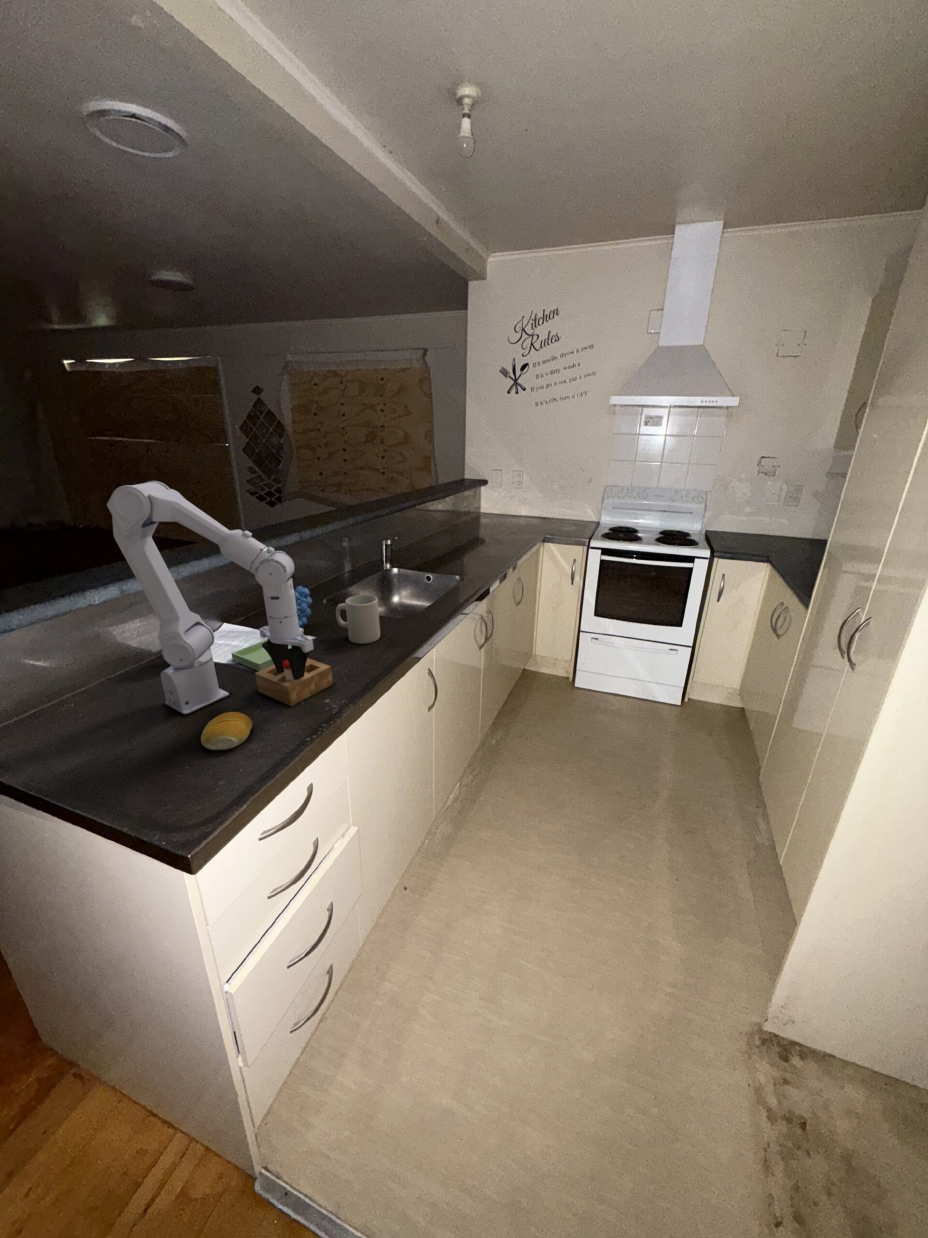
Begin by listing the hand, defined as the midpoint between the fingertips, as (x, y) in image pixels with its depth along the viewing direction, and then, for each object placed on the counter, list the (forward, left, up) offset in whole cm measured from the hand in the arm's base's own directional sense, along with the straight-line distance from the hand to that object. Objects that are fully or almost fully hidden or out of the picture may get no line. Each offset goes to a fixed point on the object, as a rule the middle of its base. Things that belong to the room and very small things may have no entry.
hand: (291, 674), depth 101 cm
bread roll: (-17, -3, -5) cm, 18 cm away
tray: (+10, +21, -5) cm, 24 cm away
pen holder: (+2, +2, -5) cm, 6 cm away
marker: (0, 0, -5) cm, 5 cm away
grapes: (+26, +31, -5) cm, 41 cm away
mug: (+30, +11, -5) cm, 33 cm away
